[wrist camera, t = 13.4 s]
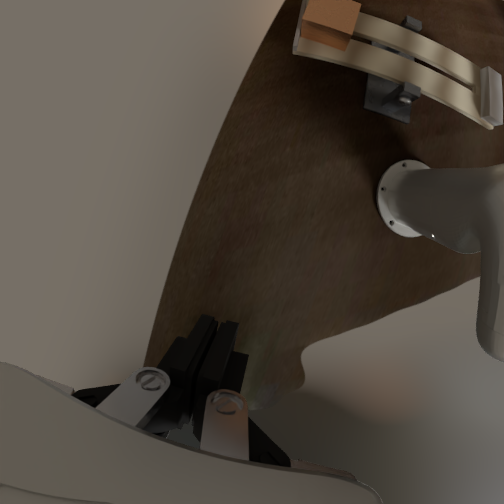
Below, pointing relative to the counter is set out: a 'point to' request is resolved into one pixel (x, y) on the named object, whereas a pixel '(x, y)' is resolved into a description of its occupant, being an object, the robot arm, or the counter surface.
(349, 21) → the block
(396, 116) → the pivot stand
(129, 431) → the robot arm
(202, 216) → the counter surface
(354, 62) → the beam
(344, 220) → the counter surface
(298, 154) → the counter surface
